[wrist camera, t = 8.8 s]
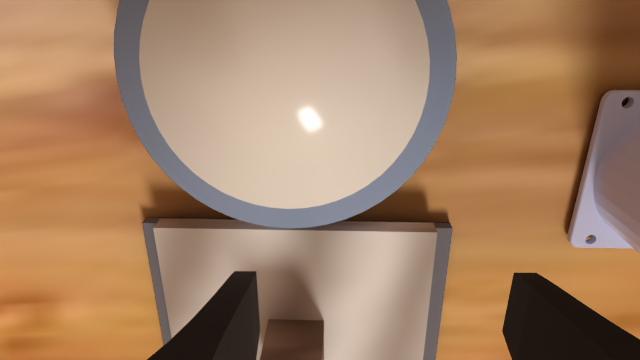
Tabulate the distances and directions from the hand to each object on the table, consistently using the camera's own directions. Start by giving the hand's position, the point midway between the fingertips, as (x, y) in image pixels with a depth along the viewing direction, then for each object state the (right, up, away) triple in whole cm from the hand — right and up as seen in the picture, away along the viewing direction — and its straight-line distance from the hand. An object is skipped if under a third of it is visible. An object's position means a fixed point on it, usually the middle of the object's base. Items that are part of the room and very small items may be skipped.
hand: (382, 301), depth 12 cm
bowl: (-3, +9, +8) cm, 12 cm away
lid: (-3, -5, +13) cm, 14 cm away
